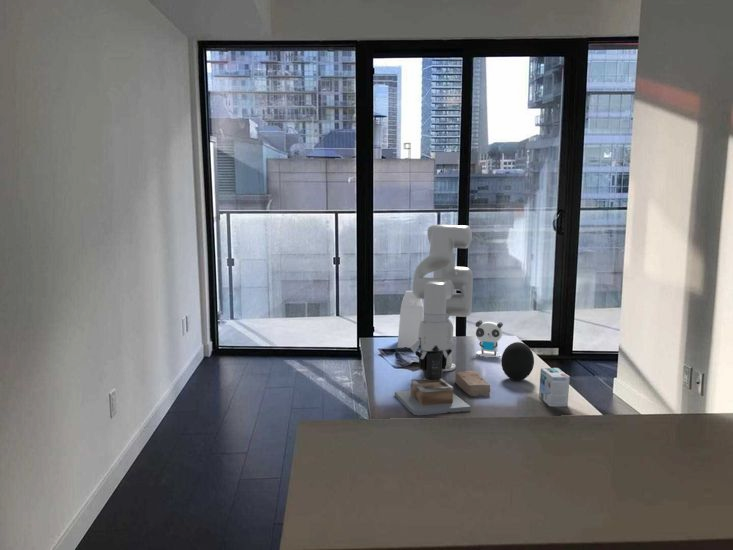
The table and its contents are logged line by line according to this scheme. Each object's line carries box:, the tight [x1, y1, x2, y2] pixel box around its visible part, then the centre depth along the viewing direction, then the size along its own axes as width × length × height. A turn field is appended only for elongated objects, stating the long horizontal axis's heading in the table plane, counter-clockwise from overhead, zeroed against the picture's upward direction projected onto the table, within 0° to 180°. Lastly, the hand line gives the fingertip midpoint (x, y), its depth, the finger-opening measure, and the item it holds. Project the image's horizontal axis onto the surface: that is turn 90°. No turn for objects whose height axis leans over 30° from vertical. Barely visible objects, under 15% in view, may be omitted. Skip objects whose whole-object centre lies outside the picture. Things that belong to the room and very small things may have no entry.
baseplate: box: [394, 389, 472, 416], centre depth 207 cm, size 20×20×2 cm
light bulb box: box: [538, 367, 571, 407], centre depth 211 cm, size 11×7×11 cm, turn 5°
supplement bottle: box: [422, 346, 444, 380], centre depth 205 cm, size 7×7×12 cm
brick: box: [454, 370, 491, 397], centre depth 224 cm, size 17×8×5 cm, turn 11°
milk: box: [397, 290, 424, 349], centre depth 285 cm, size 12×12×26 cm
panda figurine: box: [475, 319, 504, 358], centre depth 272 cm, size 12×11×15 cm
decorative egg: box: [500, 341, 535, 381], centre depth 235 cm, size 12×12×15 cm
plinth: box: [410, 377, 454, 405], centre depth 207 cm, size 11×11×6 cm
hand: (432, 368), depth 206 cm, fingers closed on supplement bottle, 6 cm apart
